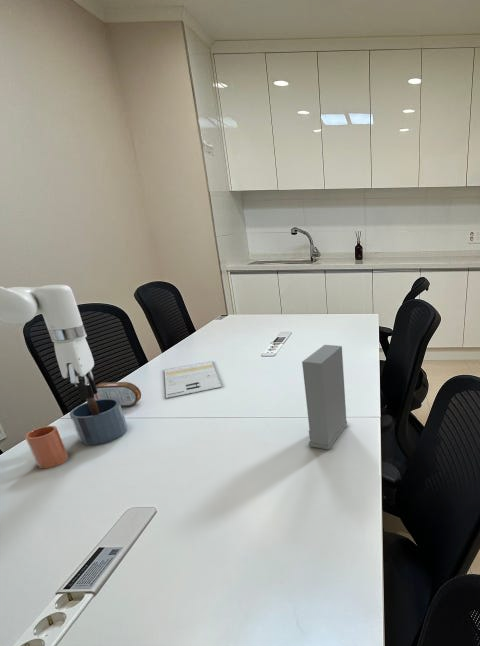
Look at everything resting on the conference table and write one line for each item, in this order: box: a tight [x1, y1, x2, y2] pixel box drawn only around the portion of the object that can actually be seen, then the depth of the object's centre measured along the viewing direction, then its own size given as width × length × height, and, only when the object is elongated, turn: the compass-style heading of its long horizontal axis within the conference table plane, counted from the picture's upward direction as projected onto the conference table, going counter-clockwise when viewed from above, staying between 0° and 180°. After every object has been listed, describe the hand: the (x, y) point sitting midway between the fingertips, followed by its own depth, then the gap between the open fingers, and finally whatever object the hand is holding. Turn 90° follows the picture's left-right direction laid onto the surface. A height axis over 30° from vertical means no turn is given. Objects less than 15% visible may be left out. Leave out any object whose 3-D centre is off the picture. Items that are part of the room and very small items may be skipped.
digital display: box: [164, 361, 222, 399], centre depth 152 cm, size 18×1×30 cm
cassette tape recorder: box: [301, 344, 348, 451], centre depth 106 cm, size 14×6×25 cm, turn 162°
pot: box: [69, 398, 129, 446], centre depth 113 cm, size 12×12×9 cm
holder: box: [24, 425, 69, 469], centre depth 101 cm, size 6×6×9 cm
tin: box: [94, 381, 142, 408], centre depth 130 cm, size 15×3×8 cm, turn 94°
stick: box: [78, 377, 100, 416], centre depth 110 cm, size 2×2×16 cm
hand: (89, 395), depth 109 cm, fingers closed on stick, 2 cm apart
